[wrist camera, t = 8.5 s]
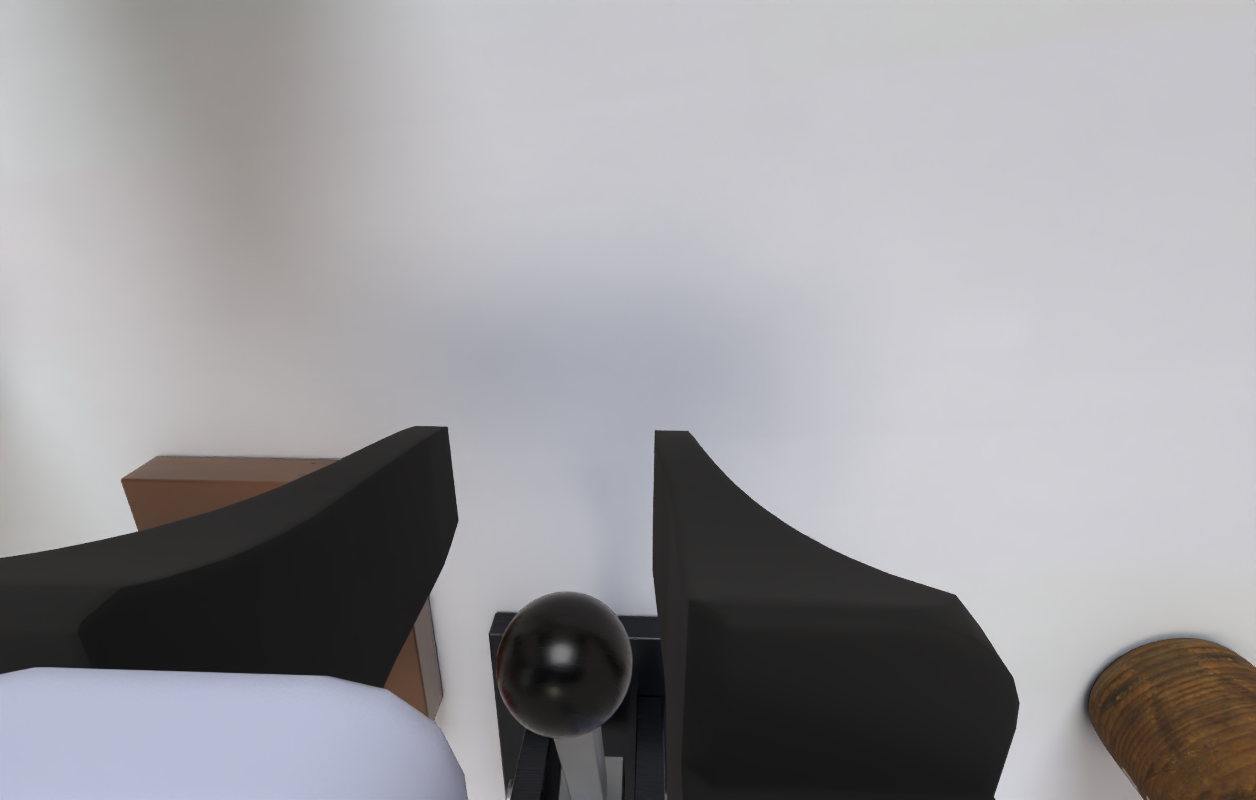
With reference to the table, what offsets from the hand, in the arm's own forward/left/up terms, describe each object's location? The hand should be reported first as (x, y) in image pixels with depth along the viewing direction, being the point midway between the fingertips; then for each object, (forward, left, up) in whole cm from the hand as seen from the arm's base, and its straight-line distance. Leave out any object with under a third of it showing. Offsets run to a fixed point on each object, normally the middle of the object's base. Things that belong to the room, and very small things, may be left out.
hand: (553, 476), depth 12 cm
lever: (-10, 0, -4) cm, 11 cm away
